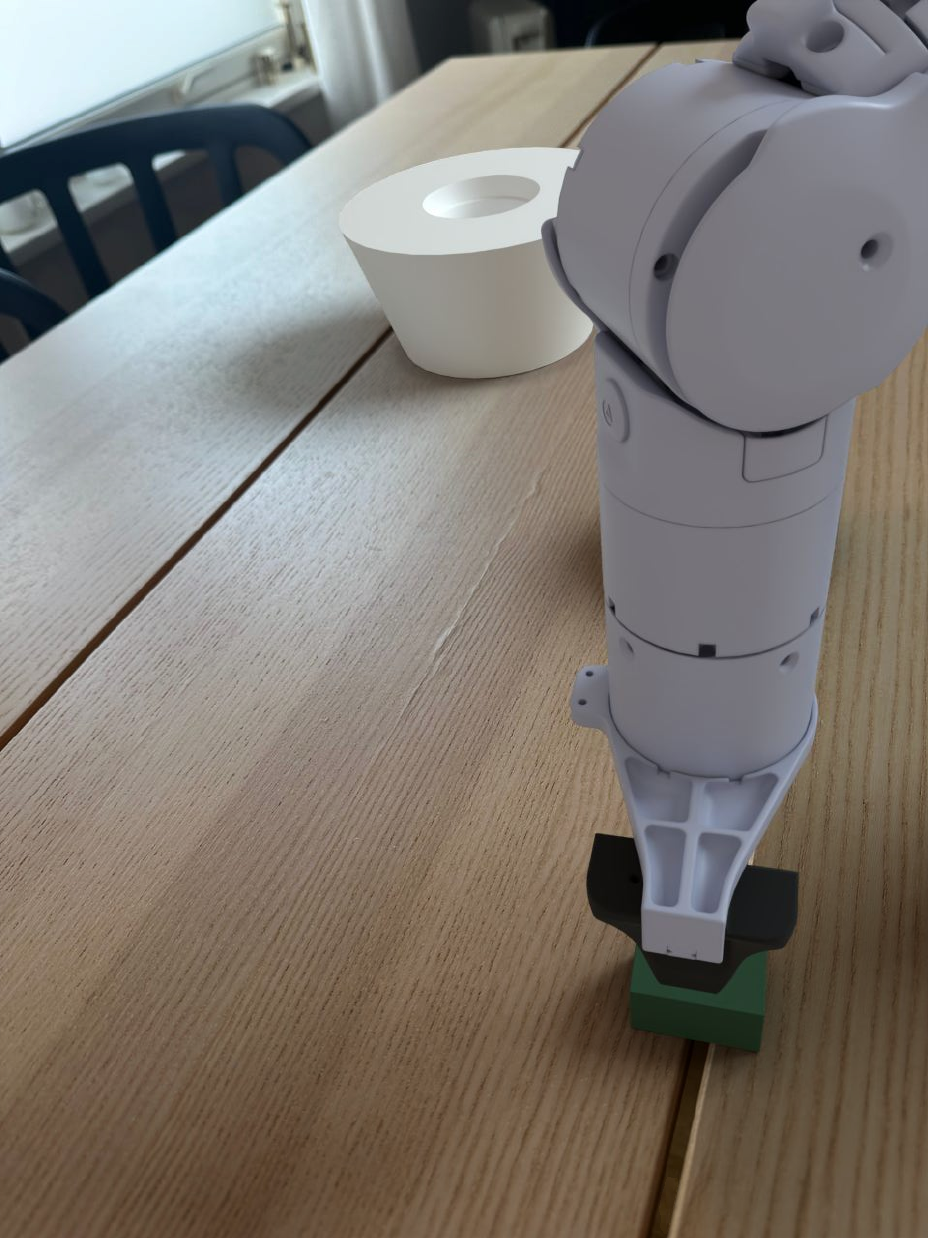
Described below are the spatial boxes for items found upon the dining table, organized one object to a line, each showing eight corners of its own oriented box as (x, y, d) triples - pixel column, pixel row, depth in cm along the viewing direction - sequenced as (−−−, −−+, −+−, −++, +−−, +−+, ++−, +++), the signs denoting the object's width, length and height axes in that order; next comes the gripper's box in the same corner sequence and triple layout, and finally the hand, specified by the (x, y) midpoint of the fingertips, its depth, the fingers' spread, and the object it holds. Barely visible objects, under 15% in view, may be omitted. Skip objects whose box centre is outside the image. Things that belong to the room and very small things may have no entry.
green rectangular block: (763, 970, 41) (768, 932, 39) (759, 1053, 38) (764, 1016, 36) (642, 950, 42) (640, 912, 40) (630, 1028, 40) (629, 991, 38)
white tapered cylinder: (568, 255, 99) (559, 129, 92) (681, 348, 82) (682, 200, 74) (341, 317, 96) (312, 191, 88) (407, 428, 78) (378, 282, 70)
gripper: (605, 434, 32) (617, 716, 41) (502, 780, 22) (548, 1056, 31) (834, 439, 30) (795, 735, 39) (839, 823, 20) (784, 1105, 29)
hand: (699, 879), depth 35 cm, fingers open, 7 cm apart
